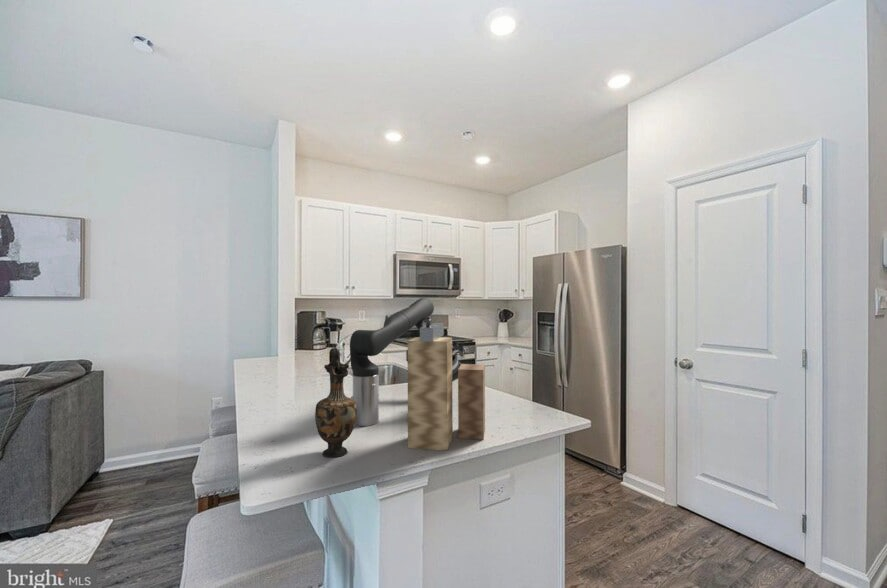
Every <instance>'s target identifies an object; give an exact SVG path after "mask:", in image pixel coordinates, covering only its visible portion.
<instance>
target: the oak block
mask: <svg viewBox="0 0 887 588" xmlns="http://www.w3.org/2000/svg"><path fill="white" fill-rule="evenodd" d="M441 337H442V336H441ZM441 337H440V338H438V339H437V340H435V341H433V342H420V336H417V337H413V338H411V339H409V340H407V448H408V449H418V450H419V449H420V450H437V451H448V450H449V447H450V445H451V442H452V440H453V434H454V433H453V422H454V421H453V382H452V345H453V337H442V338H441Z"/></svg>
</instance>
